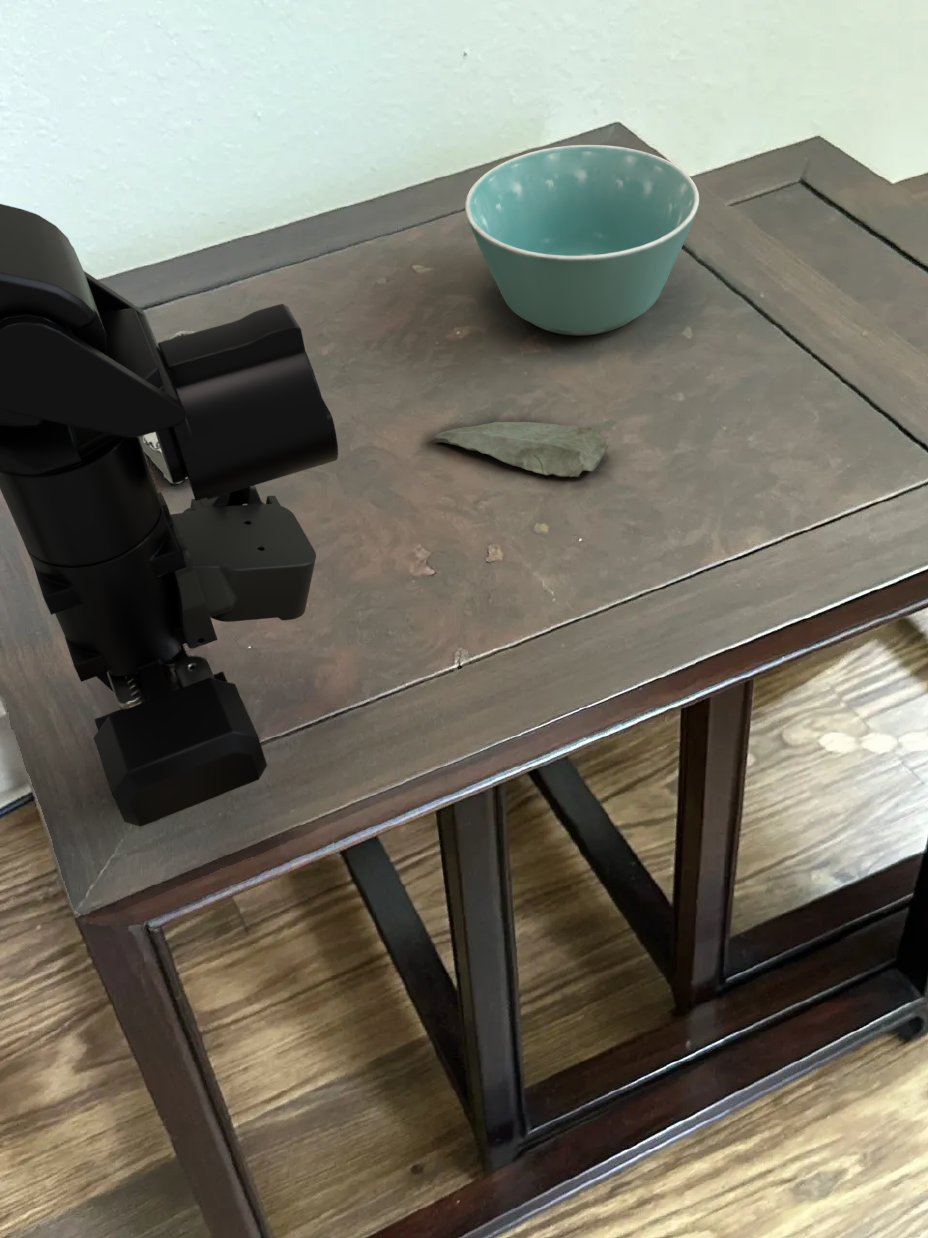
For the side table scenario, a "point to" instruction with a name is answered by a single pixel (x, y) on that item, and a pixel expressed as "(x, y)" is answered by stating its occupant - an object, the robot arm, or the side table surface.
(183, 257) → the side table surface
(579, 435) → the stone
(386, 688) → the side table surface
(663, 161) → the bowl
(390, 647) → the side table surface
